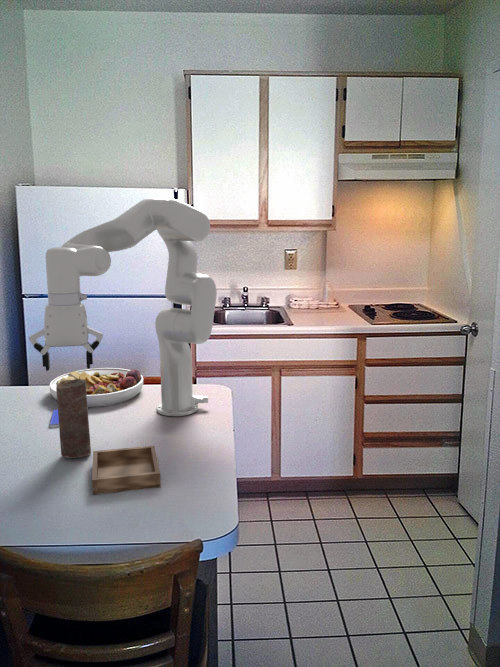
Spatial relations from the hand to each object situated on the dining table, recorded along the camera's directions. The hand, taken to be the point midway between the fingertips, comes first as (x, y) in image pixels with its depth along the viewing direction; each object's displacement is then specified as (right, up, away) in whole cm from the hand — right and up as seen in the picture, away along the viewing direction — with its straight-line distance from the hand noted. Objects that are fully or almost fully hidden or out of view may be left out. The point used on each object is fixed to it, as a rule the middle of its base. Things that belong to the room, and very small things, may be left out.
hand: (68, 368), depth 153 cm
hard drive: (-10, -17, +32) cm, 37 cm away
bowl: (-6, -12, +53) cm, 55 cm away
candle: (0, -23, +6) cm, 24 cm away
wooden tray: (+15, -25, -5) cm, 30 cm away
